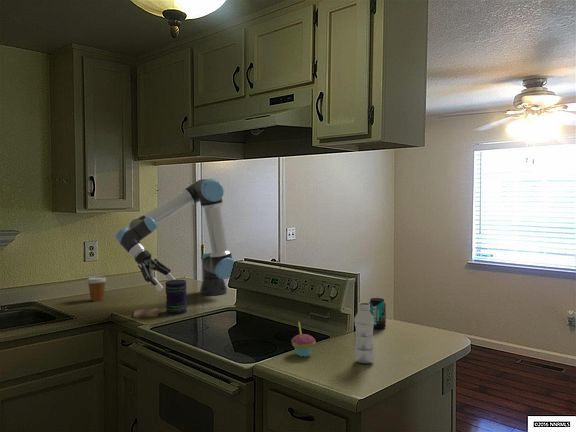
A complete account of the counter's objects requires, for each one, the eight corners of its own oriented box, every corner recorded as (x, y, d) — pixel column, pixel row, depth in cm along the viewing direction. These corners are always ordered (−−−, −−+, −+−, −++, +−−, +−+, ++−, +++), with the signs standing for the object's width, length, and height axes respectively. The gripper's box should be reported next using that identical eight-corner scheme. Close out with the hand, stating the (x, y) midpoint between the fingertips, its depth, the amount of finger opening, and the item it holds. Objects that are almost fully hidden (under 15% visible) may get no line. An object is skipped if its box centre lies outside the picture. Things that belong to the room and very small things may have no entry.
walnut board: (158, 310, 242) (158, 308, 242) (157, 316, 233) (157, 313, 233) (135, 312, 240) (135, 309, 240) (133, 317, 230) (133, 315, 230)
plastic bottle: (372, 366, 164) (372, 307, 163) (352, 364, 167) (352, 305, 165) (376, 360, 170) (376, 302, 169) (357, 358, 173) (356, 301, 171)
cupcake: (287, 355, 176) (286, 322, 176) (299, 348, 183) (299, 316, 183) (307, 360, 171) (307, 325, 171) (320, 353, 179) (319, 320, 178)
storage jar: (191, 311, 241) (190, 280, 240) (176, 316, 233) (175, 284, 232) (177, 308, 246) (176, 278, 245) (161, 313, 238) (160, 282, 237)
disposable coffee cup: (107, 301, 265) (106, 278, 264) (87, 302, 262) (87, 280, 261) (106, 297, 274) (105, 275, 273) (87, 299, 270) (87, 277, 270)
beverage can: (389, 328, 209) (389, 299, 208) (377, 330, 205) (376, 302, 204) (377, 324, 215) (377, 296, 214) (365, 327, 211) (365, 298, 210)
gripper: (149, 256, 255) (176, 286, 252) (120, 263, 231) (149, 297, 228) (158, 246, 253) (186, 277, 250) (130, 252, 229) (159, 286, 226)
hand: (168, 286), depth 239 cm, fingers open, 13 cm apart
